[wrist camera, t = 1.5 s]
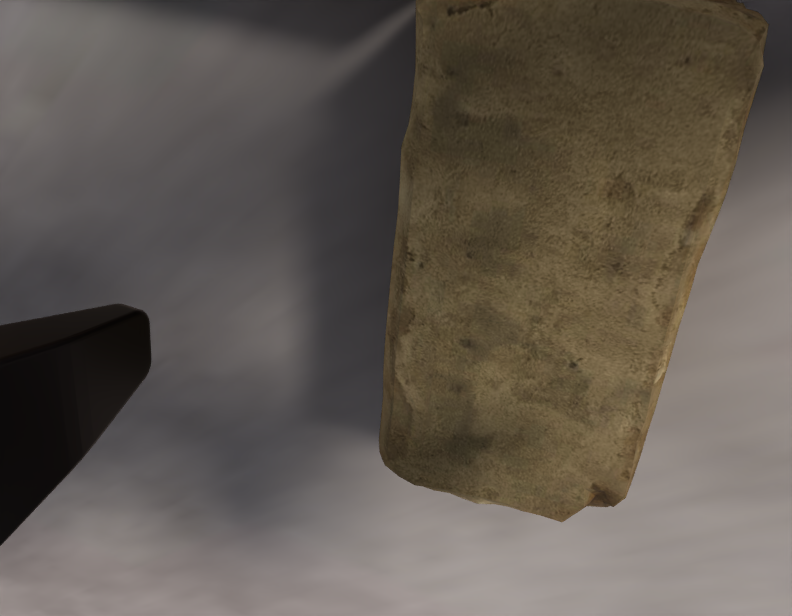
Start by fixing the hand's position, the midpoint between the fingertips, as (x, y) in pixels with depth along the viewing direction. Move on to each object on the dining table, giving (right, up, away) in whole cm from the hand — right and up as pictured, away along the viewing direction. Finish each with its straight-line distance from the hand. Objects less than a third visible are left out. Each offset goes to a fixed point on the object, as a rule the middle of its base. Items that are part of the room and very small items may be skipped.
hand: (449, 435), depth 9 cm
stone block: (+3, +4, +8) cm, 10 cm away
